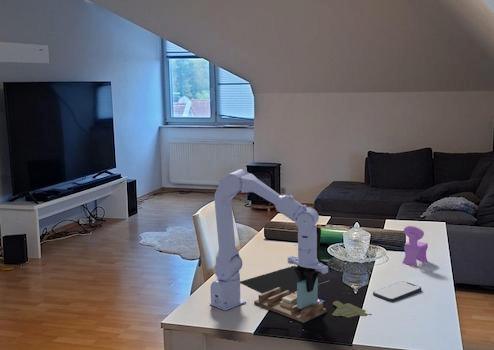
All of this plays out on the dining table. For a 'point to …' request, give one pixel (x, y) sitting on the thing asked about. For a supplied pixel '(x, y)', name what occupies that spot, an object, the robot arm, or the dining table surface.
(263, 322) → the dining table surface
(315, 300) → the board
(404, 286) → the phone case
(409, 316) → the dining table surface
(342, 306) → the olive flat irregular piece
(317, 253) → the cup
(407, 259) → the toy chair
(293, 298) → the offcut top
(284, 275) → the tablet
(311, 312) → the rack
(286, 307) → the offcut low
